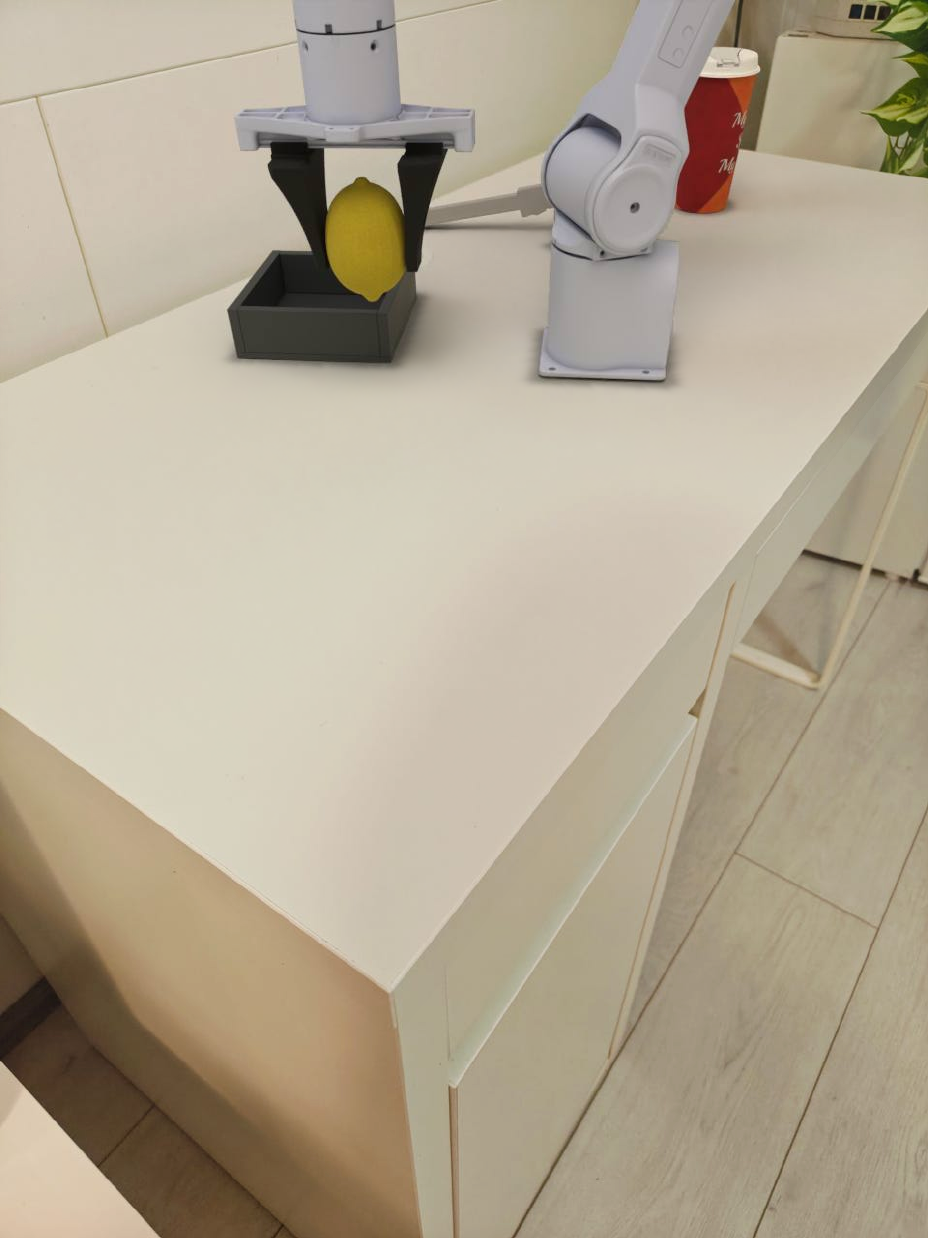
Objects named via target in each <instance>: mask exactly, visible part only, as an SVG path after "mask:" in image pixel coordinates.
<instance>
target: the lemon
mask: <svg viewBox="0 0 928 1238" xmlns="http://www.w3.org/2000/svg"><path fill="white" fill-rule="evenodd" d="M397 200H398V199H396V197H395V196H394V195H393V194H392V193H391V192H390V191H389V190H388V189H387V188H385V187H383V186H382V185H380V184H377V183H375V182H372V181H370V180H369V179H368V177H366V176H358V177H356V178H355V179H354V181H352V182H351V183H350V184H347V185H346V186H344V187H343V188H342V189H341V190H339V191H338V192H337V193H336V194H335V196H334V197H333V199H332V200H331V202H330V204H329V206H328V208H327V209H328V212H327V217H326V225H325V243H326V251H327V256H328V260H329V263H330V266H331V268H332V270H333V272H334V274H335V275H336V277H337V278H338V279H339V281H340V282H341V283H342V284H343V285H344V286H345V287H346V288H348V289H349V290H351V291H353V292H355V293H358V294H362V295H363V296H364V297H365V298H366V299H367V300H368V301H371V302H374V301H377V300H378V299H379V297H380V296H381V295H382V294H383V293H384V292H387V291H389V290H390V289H392V288H393V287H394V286H395V285H396V284H397V283H398V282H399V280H400V279H401V277H402V276H403V274H404V272H405V269H406V261H405V220H404V214H403V213H404V211H403V208H402V207H401V205H400V204H399V202H398V201H397Z"/></svg>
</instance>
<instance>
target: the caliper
mask: <svg viewBox="0 0 928 1238" xmlns="http://www.w3.org/2000/svg"><path fill="white" fill-rule="evenodd" d="M550 209H554V208H553V207H552V206H551V205H550V204H549V202H548V201H547V199H546V197H545V195H544V192H543V190H542V185H541V183H535V184H532V185H531V184H529V185H526V186H521V187H518V188H517V191H516V192H513V193H512V192H511V193H506V194H501V195H495V196H488V197H482V198H477V199H471V200H466V201H460V202H453V203H448V204H443V205H438V206H431V207H430V206H429V210H428V214H427V219H426V224H425V227H428V226H434V225H439V224H445V223H450V222H455V221H462V220H468V219H474V218H480V217H486V216H492V215H497V214H499V215H500V214H503V213H510V212H517V211H520V215H521V218H528V217H530V216H540V215H541V214H543V213H545V212H546V211H547V210H550ZM403 214H404V212H403Z"/></svg>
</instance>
